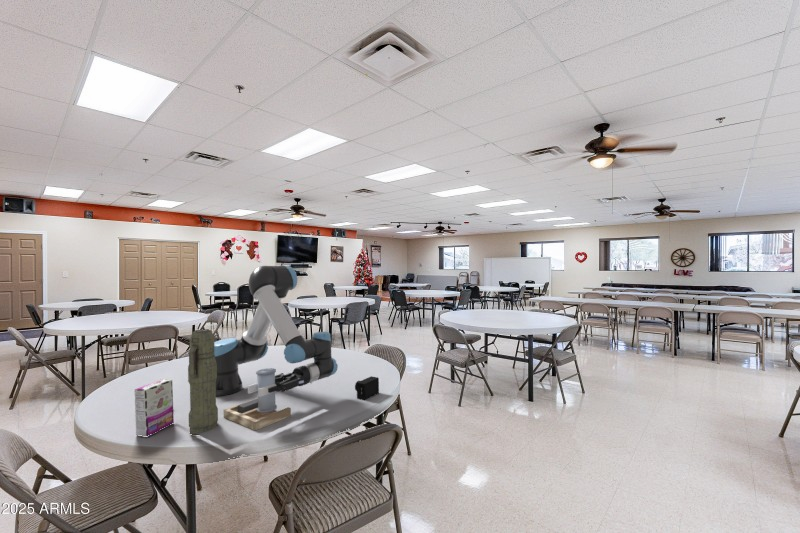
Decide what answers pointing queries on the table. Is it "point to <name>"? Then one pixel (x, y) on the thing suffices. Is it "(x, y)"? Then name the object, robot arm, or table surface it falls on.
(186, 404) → the table surface
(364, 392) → the digital camera
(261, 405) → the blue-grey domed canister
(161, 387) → the candy bar box
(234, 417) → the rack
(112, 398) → the table surface
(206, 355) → the thermos
